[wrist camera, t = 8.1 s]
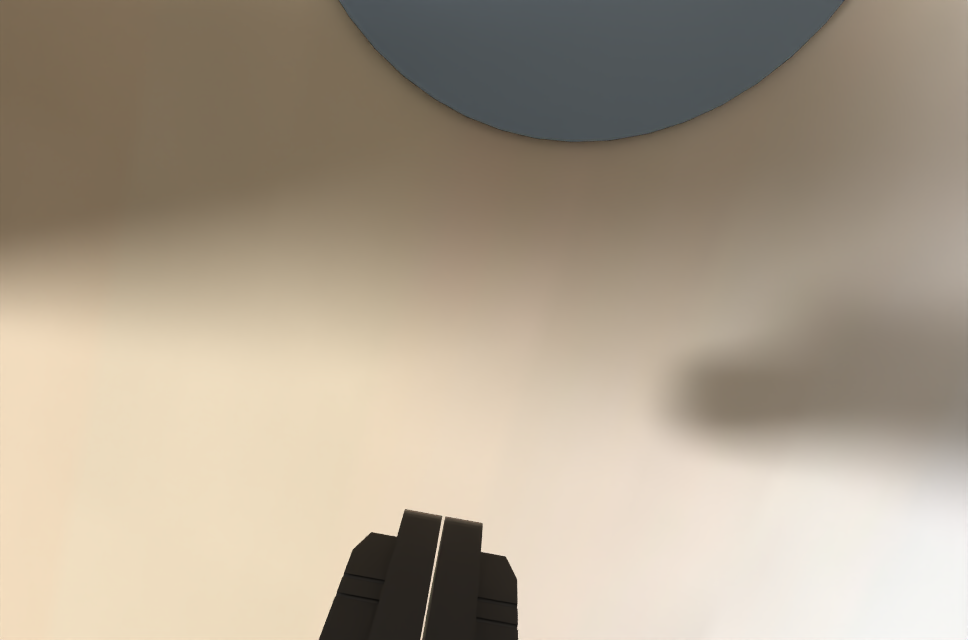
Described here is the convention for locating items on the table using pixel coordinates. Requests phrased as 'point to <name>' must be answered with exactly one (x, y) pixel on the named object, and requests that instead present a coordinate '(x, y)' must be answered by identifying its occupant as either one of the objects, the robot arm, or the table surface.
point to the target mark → (587, 57)
